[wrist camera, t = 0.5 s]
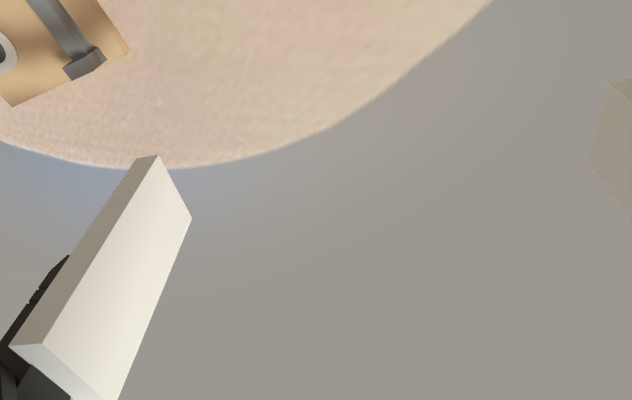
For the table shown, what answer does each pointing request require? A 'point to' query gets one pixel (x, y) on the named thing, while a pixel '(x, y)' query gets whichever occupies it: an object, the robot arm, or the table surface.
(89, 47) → the bolt plate
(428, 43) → the table surface
